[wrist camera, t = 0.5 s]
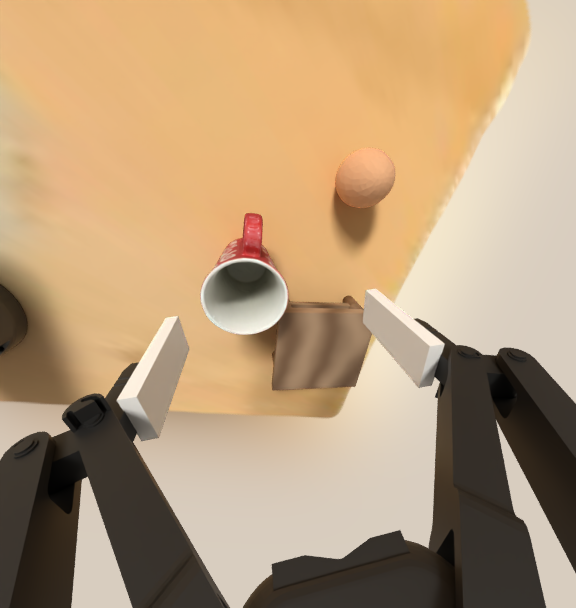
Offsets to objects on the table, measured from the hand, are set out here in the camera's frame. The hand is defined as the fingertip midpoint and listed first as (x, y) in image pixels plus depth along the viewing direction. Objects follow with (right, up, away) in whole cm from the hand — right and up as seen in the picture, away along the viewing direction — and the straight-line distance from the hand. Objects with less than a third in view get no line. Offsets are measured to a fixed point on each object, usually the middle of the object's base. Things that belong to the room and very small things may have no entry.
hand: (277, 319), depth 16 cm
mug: (-5, +9, +19) cm, 22 cm away
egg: (+10, +19, +17) cm, 27 cm away
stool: (+5, -4, +27) cm, 28 cm away
